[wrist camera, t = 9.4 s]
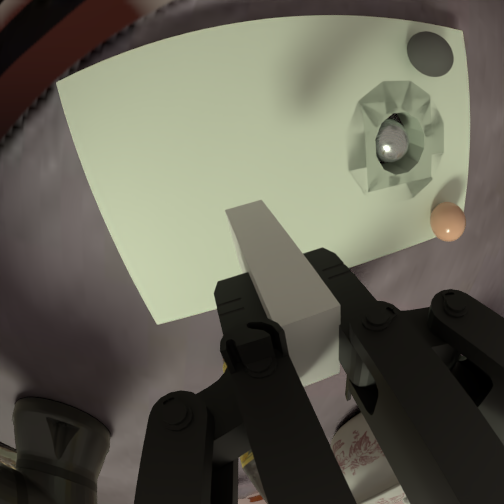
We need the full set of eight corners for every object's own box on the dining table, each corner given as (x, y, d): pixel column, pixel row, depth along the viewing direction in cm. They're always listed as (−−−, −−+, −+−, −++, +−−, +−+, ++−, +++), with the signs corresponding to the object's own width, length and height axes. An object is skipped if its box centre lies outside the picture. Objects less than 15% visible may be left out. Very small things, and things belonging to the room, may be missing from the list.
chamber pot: (428, 347, 39) (498, 449, 21) (435, 395, 53) (476, 463, 36) (275, 437, 42) (310, 547, 25) (330, 457, 57) (359, 528, 40)
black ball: (400, 74, 15) (433, 78, 13) (394, 30, 14) (426, 27, 11) (433, 75, 16) (465, 80, 13) (427, 34, 14) (459, 34, 11)
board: (158, 303, 24) (157, 324, 22) (70, 82, 14) (55, 82, 12) (444, 215, 26) (461, 227, 24) (441, 30, 16) (462, 30, 14)
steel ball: (410, 172, 19) (404, 144, 20) (414, 137, 16) (406, 110, 18) (367, 171, 20) (364, 143, 21) (367, 135, 17) (363, 109, 19)
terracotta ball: (421, 234, 23) (444, 253, 20) (424, 199, 21) (450, 217, 18) (446, 225, 23) (469, 242, 20) (449, 192, 21) (475, 208, 18)
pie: (77, 470, 43) (76, 489, 39) (55, 484, 50) (54, 499, 46) (-40, 416, 29) (-45, 435, 25) (-32, 445, 37) (-35, 459, 33)
